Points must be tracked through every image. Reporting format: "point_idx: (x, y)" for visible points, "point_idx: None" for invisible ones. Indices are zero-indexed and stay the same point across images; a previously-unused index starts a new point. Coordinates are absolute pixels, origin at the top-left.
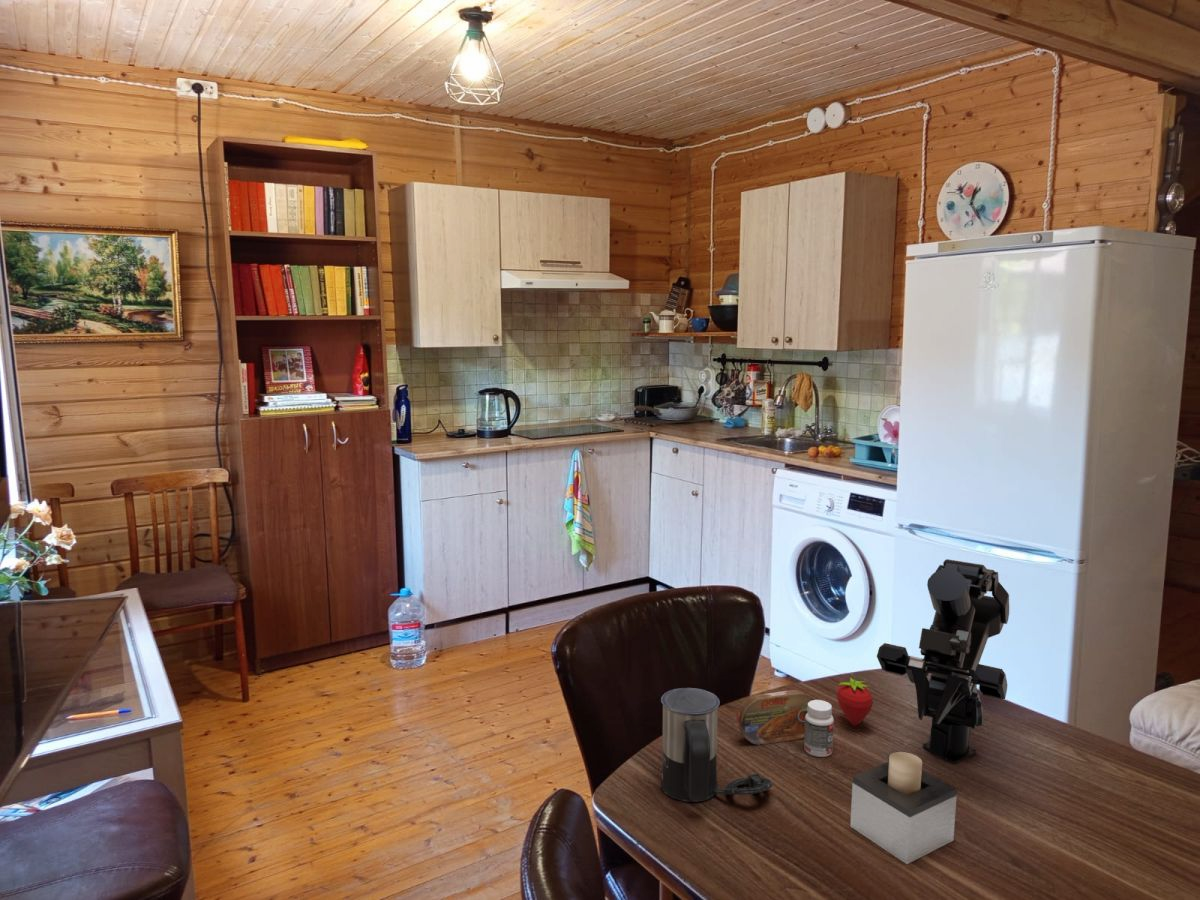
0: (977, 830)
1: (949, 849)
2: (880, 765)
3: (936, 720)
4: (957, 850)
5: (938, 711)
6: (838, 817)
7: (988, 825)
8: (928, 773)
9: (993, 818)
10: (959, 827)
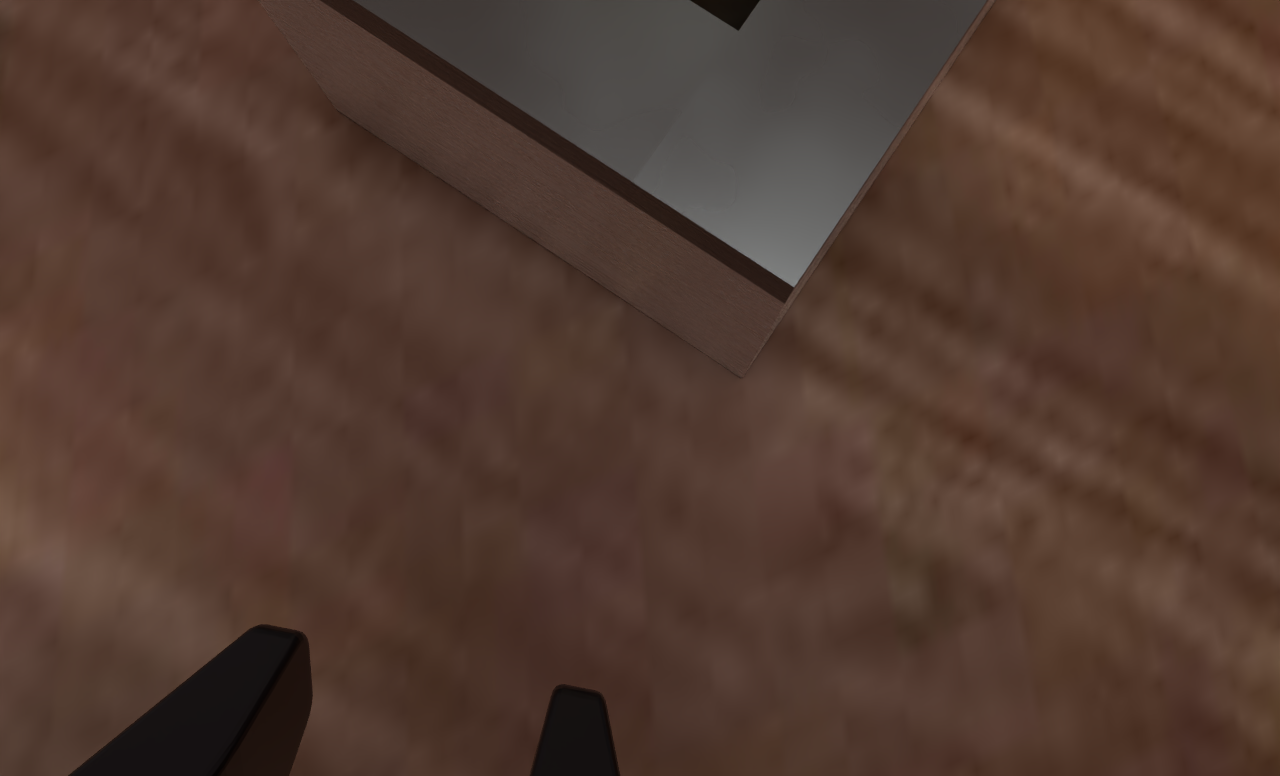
0: (176, 302)
1: None
2: (961, 24)
3: (272, 635)
4: None
5: (182, 762)
6: (1102, 62)
7: (97, 399)
8: (459, 67)
9: (55, 510)
10: (295, 288)
